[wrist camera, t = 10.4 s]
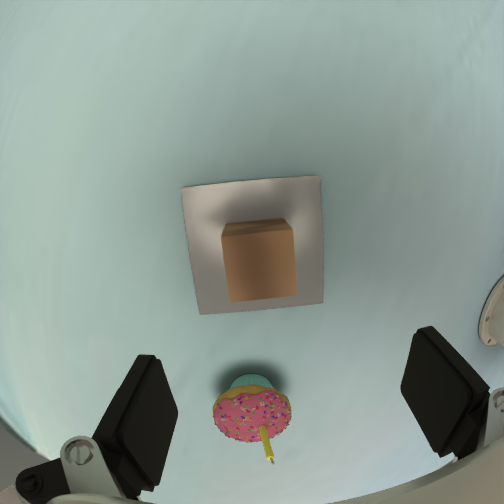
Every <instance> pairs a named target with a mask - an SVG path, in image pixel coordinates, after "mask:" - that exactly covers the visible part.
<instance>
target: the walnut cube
mask: <svg viewBox="0 0 504 504" xmlns="http://www.w3.org/2000/svg"><path fill="white" fill-rule="evenodd" d="M221 243H222V250H223V258H224V265H225V272H226V279H227V285H228V292H229V299H230V303H231V302H242V301H252V300H261V299H270V298H279V297H287V296H296V295H297V285H296V267H295V250H294V235H293V229H292V228H291V226H290V225H289V224H288V223H287V221H286V220H285V219H284V218H275V219H265V220H256V221H246V222H237V223H228V224H225V227H224V229H223V232H222V235H221Z"/></svg>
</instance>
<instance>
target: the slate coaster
mask: <svg viewBox="0 0 504 504" xmlns="http://www.w3.org/2000/svg"><path fill="white" fill-rule="evenodd" d="M180 190H181V198H182V206H183V214H184V221H185V228H186V236H187V242H188V249H189V255H190V262H191V268H192V274H193V280H194V286H195V291H196V297H197V302H198V308H199V313H200V315H202V314H217V313H230V312H243V311H254V310H265V309H275V308H284V307H293V306H302V305H310V304H319V303H323V287H324V270H323V223H322V200H321V183H320V176H317V175H316V176H297V177H282V178H268V179H256V180H245V181H235V182H225V183H216V184H207V185H199V186H191V187H184V188H180ZM275 218H284V219H285V220H286V221H287V223H288V224H289V225H290V226H291V228H292V229H293V235H294V250H295V267H296V285H297V295H296V296H287V297H279V298H270V299H261V300H252V301H242V302H231V303H230V299H229V292H228V285H227V279H226V272H225V265H224V258H223V250H222V243H221V235H222V232H223V229H224V227H225V224H228V223H237V222H246V221H256V220H265V219H275Z"/></svg>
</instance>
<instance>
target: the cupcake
mask: <svg viewBox="0 0 504 504" xmlns="http://www.w3.org/2000/svg"><path fill="white" fill-rule="evenodd" d="M213 417H214V421H215V425H217V427H218V429H220V431H221V432H223V433H224V434H225V435H227V436H228V437H229V438H230V437H231V438H234V439H235V440H238V441H240V442H242V441H245V442H258V441H262V442H263V445H264V449H265V453H266V457H267V459H268V460H271V463H272V464H275V463H274V461H273V459H274V455H273V452H272V448H271V445H270V441H269V439H270V438H273V437H275V436H276V435H279V434H280V433H281V432H282V431H283V430H284V429H286V428H287V427H286V426H288V425H289V424H288V423H289V422H290V420H291V406H290V403H289V400H288V398H287V396H285V395H284V394H282V393H280V392H279V391H278V390H277V389H275V388H273V387H272V385H271V383H270V382H269V380H268V379H266V378H265V377H263V376H261V375H257V374H246V375H243V376H240V377H238V378H237V379H236V380H234V382H233V383H232V385H231V387H230V389H229V390H228V391H226V392H225V393H223V394H221V395H219V396H218V398H217V400H216V402H215V404H214V406H213Z"/></svg>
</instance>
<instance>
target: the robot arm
mask: <svg viewBox="0 0 504 504" xmlns="http://www.w3.org/2000/svg"><path fill="white" fill-rule="evenodd" d="M479 337H480V339H481V341H482V342H483V343H484V344H486V345H488V346H491V345H495V344H497V343H499V344H500V345H502V346H503V347H504V277H503V278H501V280H500V281H499V282H498V283H497V284H496V286H495V287H494V289H493V290H492V292H491V294H490V296H489V297H488V300H487V302H486V304H485V306H484V309H483V311H482V315H481V318H480V323H479ZM489 389H490V387H489V386H488V385H487V384H486V382H485V381H484V380H483V379H482V378H481V377H480V376H479V374H478V373H477V372H476V371H475V370H474V369H473V368H472V367H471V366H470V365H469V363H468V362H467V361H466V360H465V359H464V358H463V357H462V356H461V355H460V354H459V353H458V352H457V351H456V350H455V349H454V347H453V346H452V345H451V344H450V343H449V342H448V341H447V340H446V339H445V338H444V337H443V336H442V335H441V334H440V333H439V332H438V331H437V330H436V329H435V328H434V327H433V326H428V327H424V328H420V329H418V330H417V332H416V333H415V334H414V335H413V339H412V343H411V348H410V352H409V356H408V360H407V364H406V368H405V372H404V375H403V379H402V382H401V393H402V395H403V397H404V399H405V400H406V402H407V404H408V406H409V407H410V409H411V411H412V413H413V414H414V416H415V418H416V420H417V422H418V424H419V425H420V427H421V429H422V431H423V433H424V435H425V436H426V438H427V440H428V442H429V444H430V446H431V448H432V450H433V451H434V452H436V453H438V455H439V457H440V458H441V457H444V456H446V455H448V454H450V453H452V452H453V453H454V455H455V456H454V460H453V463H452V464H450V465H447V466H445V467H443V468H441V469H439V470H436V471H434V472H432V473H429V474H427V475H425V476H422V477H420V478H417V479H415V480H412V481H409V482H407V483H404V484H401V485H398V486H395V487H392V488H389V489H386V490H382V491H379V492H375V493H372V494H368V495H365V496H361V497H357V498H352V499H348V500H343V501H339V502H333V503H328V504H504V388H498V389H495V390H494V391H493V392H492V393H491V394H490V393H489V392H488V391H489ZM177 418H178V409H177V406H176V403H175V401H174V398H173V395H172V393H171V390H170V387H169V384H168V381H167V378H166V375H165V372H164V369H163V366H162V363H161V361H160V359H156V357H155V356H154V355H138V356H137V358H136V360H135V361H134V363H133V365H132V367H131V368H130V370H129V372H128V374H127V375H126V377H125V379H124V381H123V383H122V384H121V386H120V388H119V389H118V390H117V392H116V394H115V395H114V397H113V399H112V401H111V403H110V404H109V406H108V408H107V410H106V412H105V414H104V415H103V417H102V419H101V421H100V423H99V425H98V427H97V429H96V430H95V432H94V434H93V436H92V438H89V437H87V436H76V437H73V438H71V439H69V440H68V441H66V442H65V443H64V445H63V446H62V448H61V451H60V458H58V459H55V460H52V461H49V462H46V463H43V464H41V465H37V466H34V467H31V468H28V469H25V470H23V471H22V472H21V473H19V475H18V477H17V478H16V487H13V486H12V485H10V486H9V487H7V488H6V489H4V490H3V491H1V492H0V504H154V503H148V502H143V501H142V500H141V498H140V497H139V495H140V494H141V490H145V491H150V492H153V490H154V487H155V486H158V485H159V483H160V480H161V476H162V472H163V469H164V465H165V461H166V458H167V454H168V450H169V447H170V443H171V439H172V436H173V432H174V428H175V425H176V421H177Z"/></svg>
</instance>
